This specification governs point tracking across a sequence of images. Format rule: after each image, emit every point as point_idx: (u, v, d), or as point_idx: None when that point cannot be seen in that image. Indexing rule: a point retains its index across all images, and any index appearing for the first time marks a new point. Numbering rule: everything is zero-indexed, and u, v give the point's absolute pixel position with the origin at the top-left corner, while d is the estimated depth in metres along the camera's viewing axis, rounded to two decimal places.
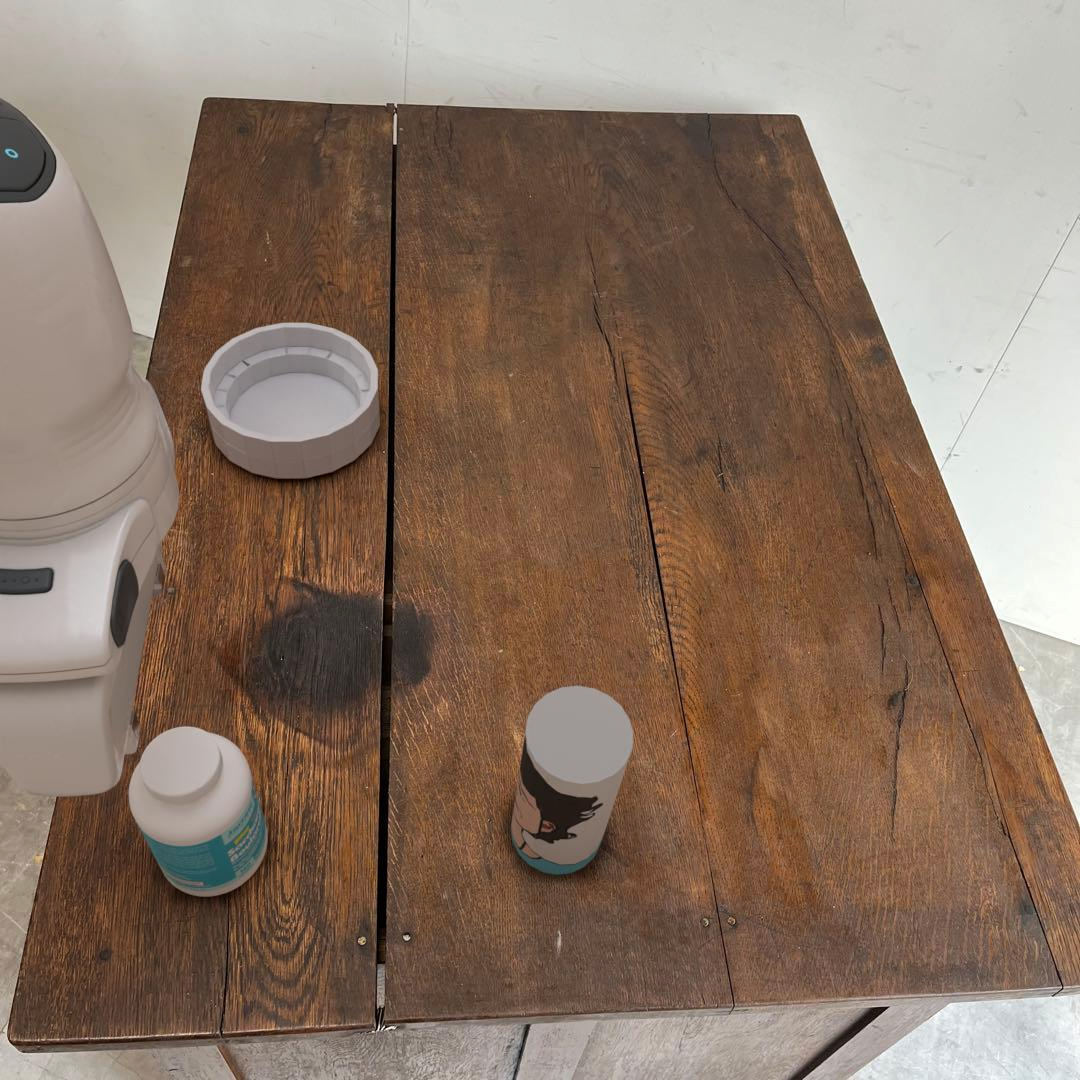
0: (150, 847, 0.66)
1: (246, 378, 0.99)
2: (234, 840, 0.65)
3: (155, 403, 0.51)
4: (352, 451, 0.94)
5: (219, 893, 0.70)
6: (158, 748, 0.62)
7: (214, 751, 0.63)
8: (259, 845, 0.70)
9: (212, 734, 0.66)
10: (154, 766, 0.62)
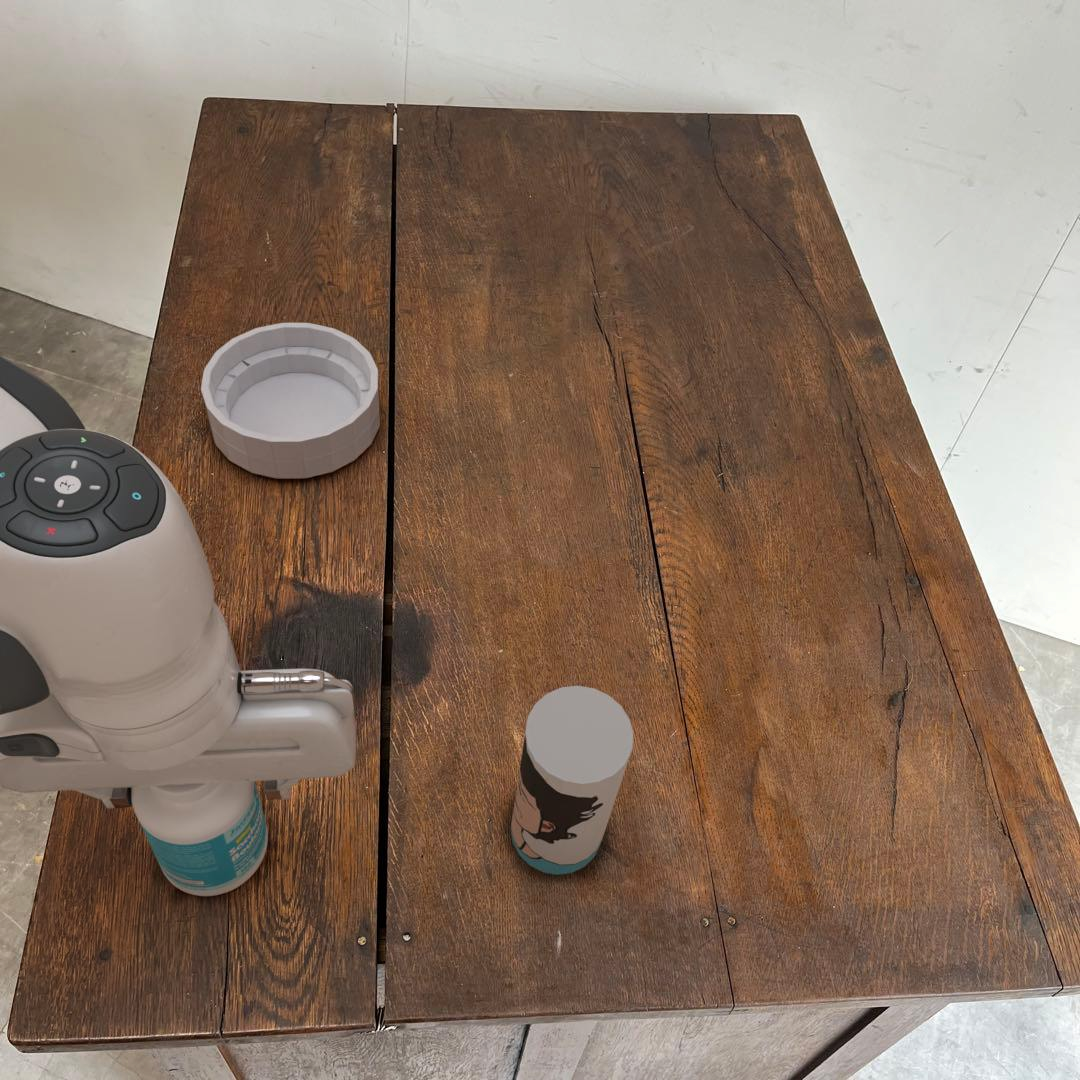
0: (151, 846, 0.66)
1: (246, 378, 0.99)
2: (236, 839, 0.65)
3: (321, 738, 0.57)
4: (352, 451, 0.94)
5: (219, 893, 0.70)
6: None
7: None
8: (260, 845, 0.70)
9: None
10: None
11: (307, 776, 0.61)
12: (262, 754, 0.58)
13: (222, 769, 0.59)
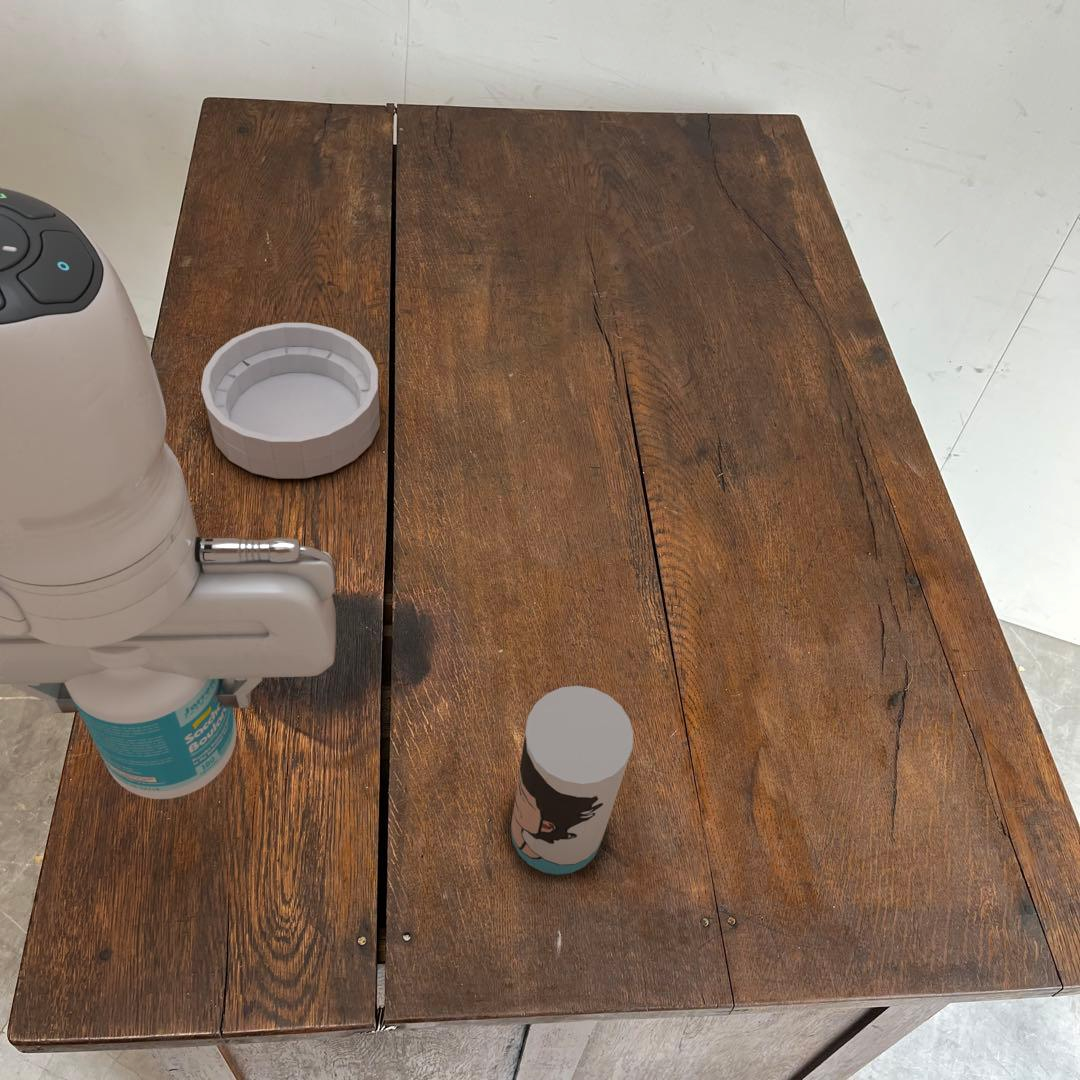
0: (90, 731, 0.54)
1: (246, 378, 0.99)
2: (192, 722, 0.53)
3: (295, 621, 0.48)
4: (352, 451, 0.94)
5: (176, 795, 0.58)
6: None
7: None
8: (225, 737, 0.58)
9: None
10: None
11: (278, 673, 0.52)
12: (224, 642, 0.49)
13: (176, 661, 0.50)
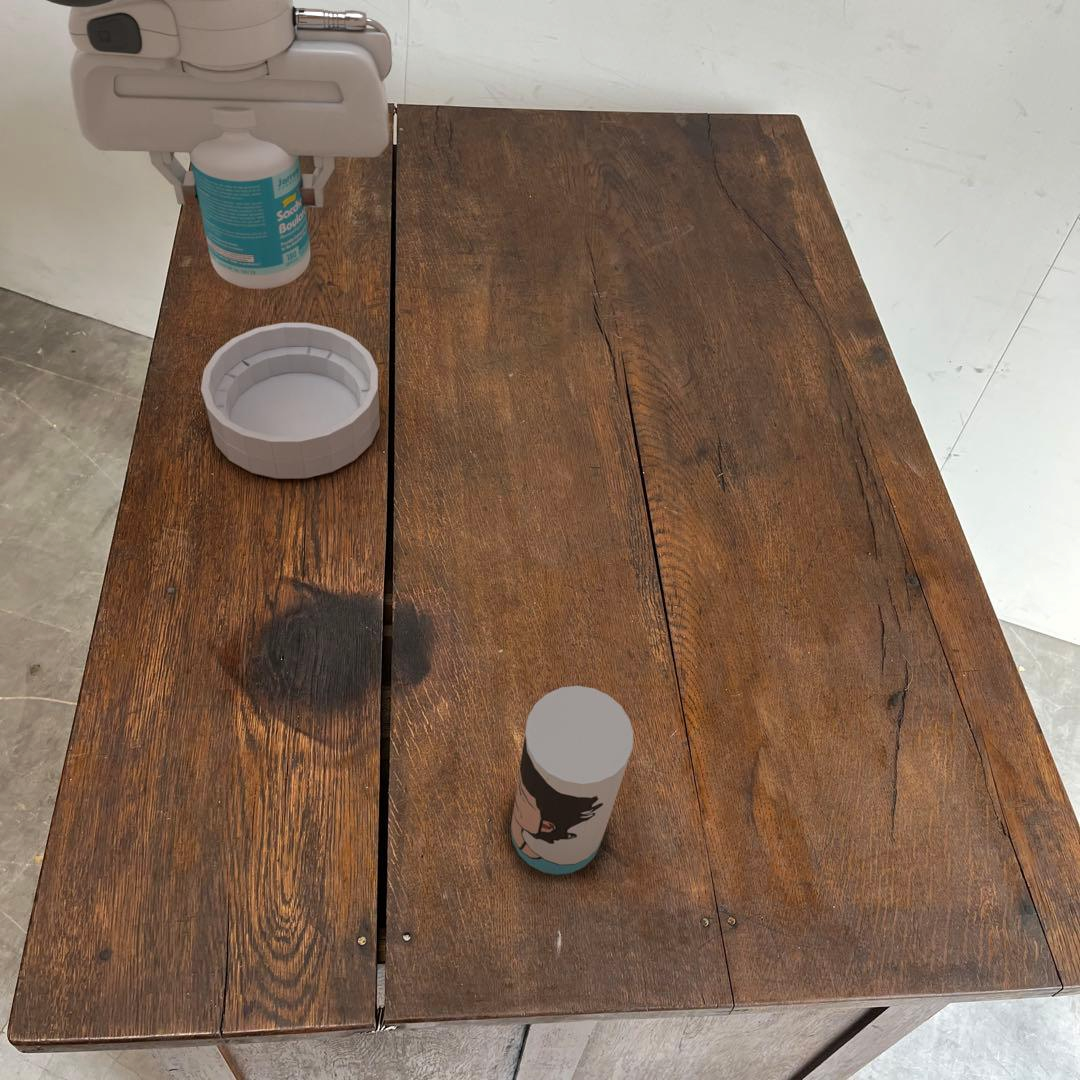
0: (206, 209, 0.72)
1: (246, 378, 0.99)
2: (283, 199, 0.72)
3: (362, 84, 0.66)
4: (352, 451, 0.94)
5: (267, 283, 0.76)
6: None
7: None
8: (304, 240, 0.76)
9: None
10: None
11: (347, 150, 0.70)
12: (310, 107, 0.67)
13: (274, 128, 0.68)
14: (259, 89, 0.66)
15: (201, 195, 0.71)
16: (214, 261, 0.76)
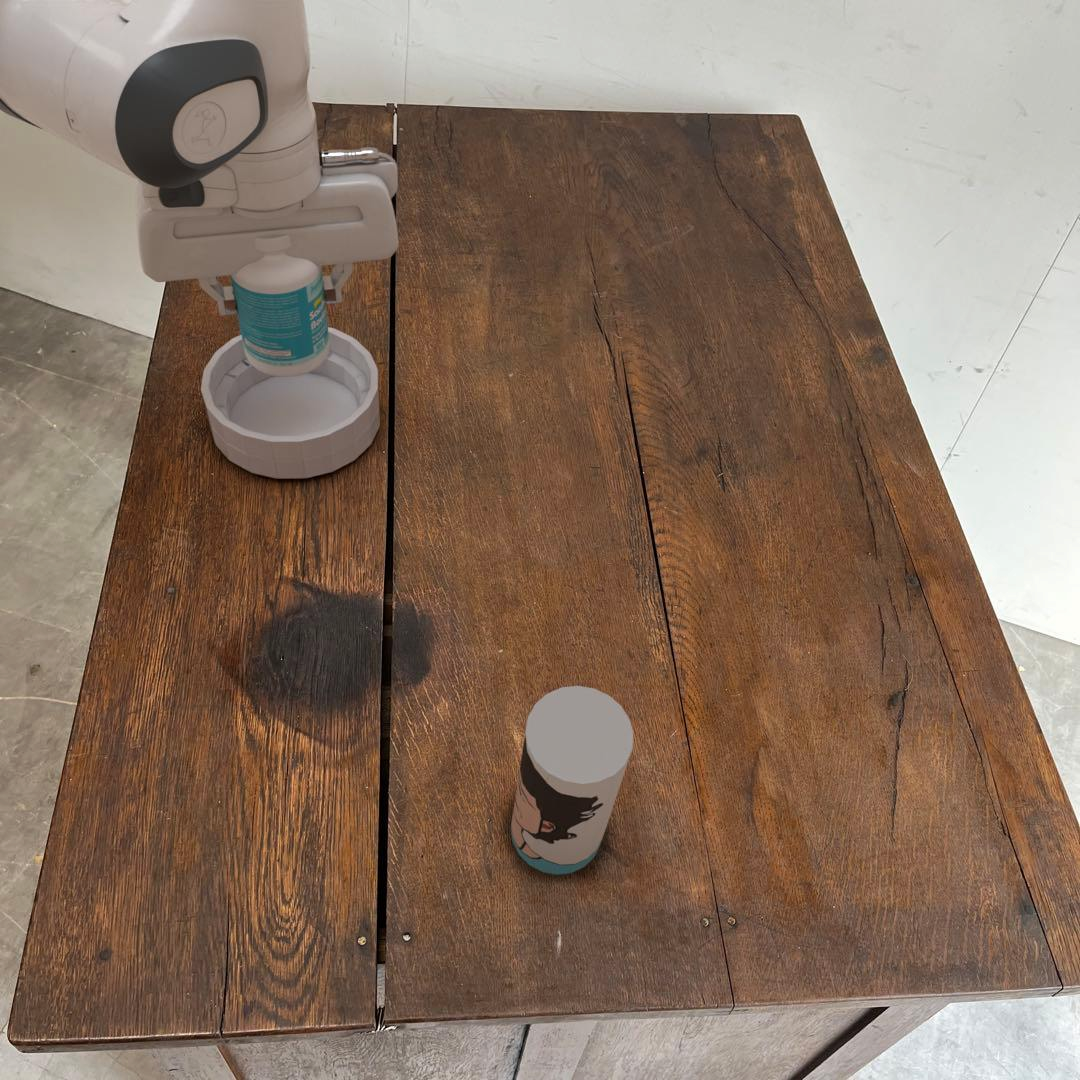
0: (248, 318, 0.85)
1: (246, 378, 0.99)
2: (314, 301, 0.85)
3: (379, 204, 0.81)
4: (352, 451, 0.94)
5: (301, 371, 0.89)
6: None
7: None
8: (326, 331, 0.90)
9: None
10: None
11: (365, 256, 0.84)
12: (336, 227, 0.81)
13: (306, 247, 0.82)
14: (294, 218, 0.80)
15: (243, 307, 0.84)
16: (252, 358, 0.89)
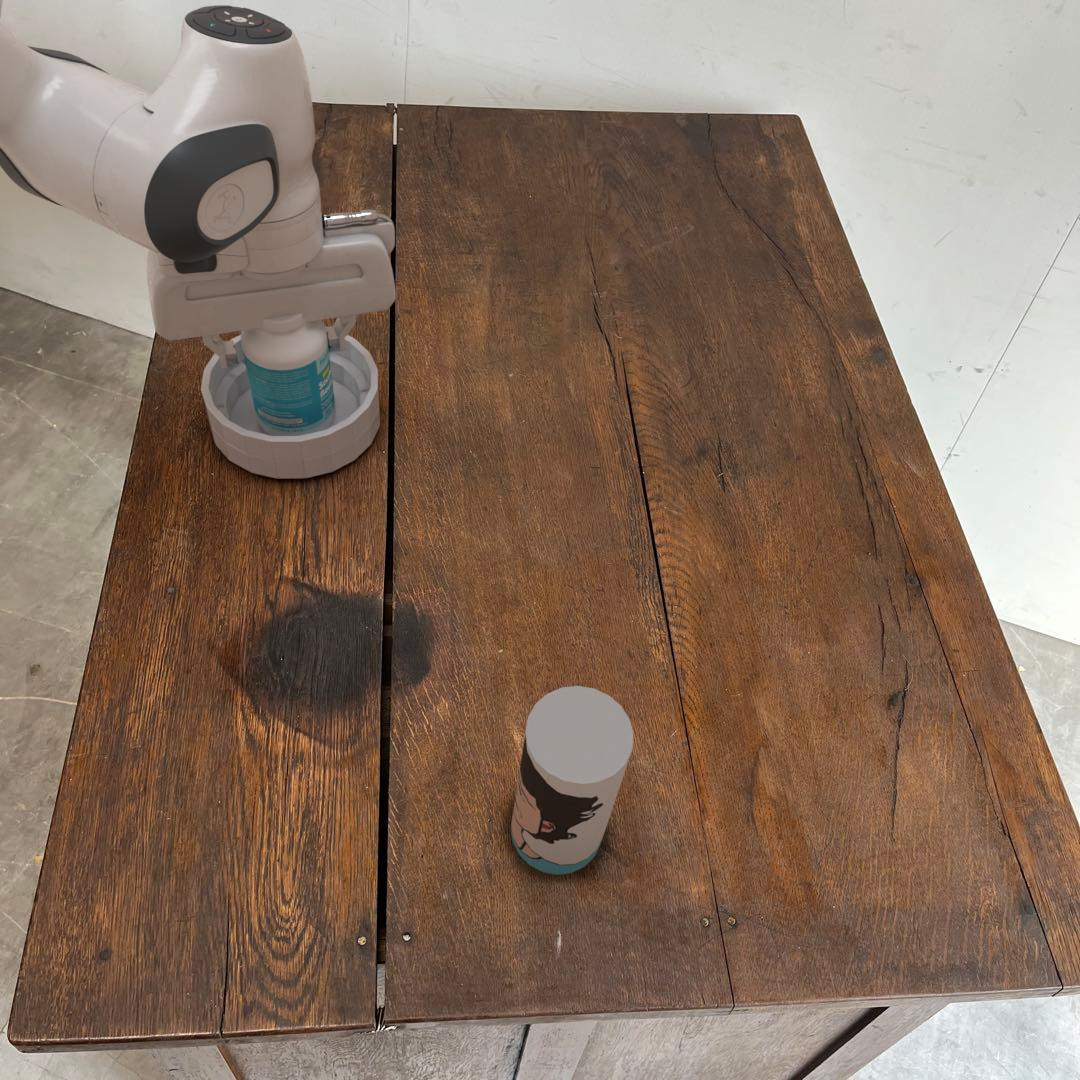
0: (262, 391, 0.91)
1: (246, 378, 0.99)
2: (322, 372, 0.92)
3: (378, 262, 0.86)
4: (352, 451, 0.94)
5: None
6: None
7: None
8: (333, 396, 0.96)
9: None
10: None
11: (365, 309, 0.89)
12: (337, 284, 0.86)
13: (310, 303, 0.86)
14: (298, 277, 0.85)
15: (257, 382, 0.91)
16: (266, 426, 0.95)
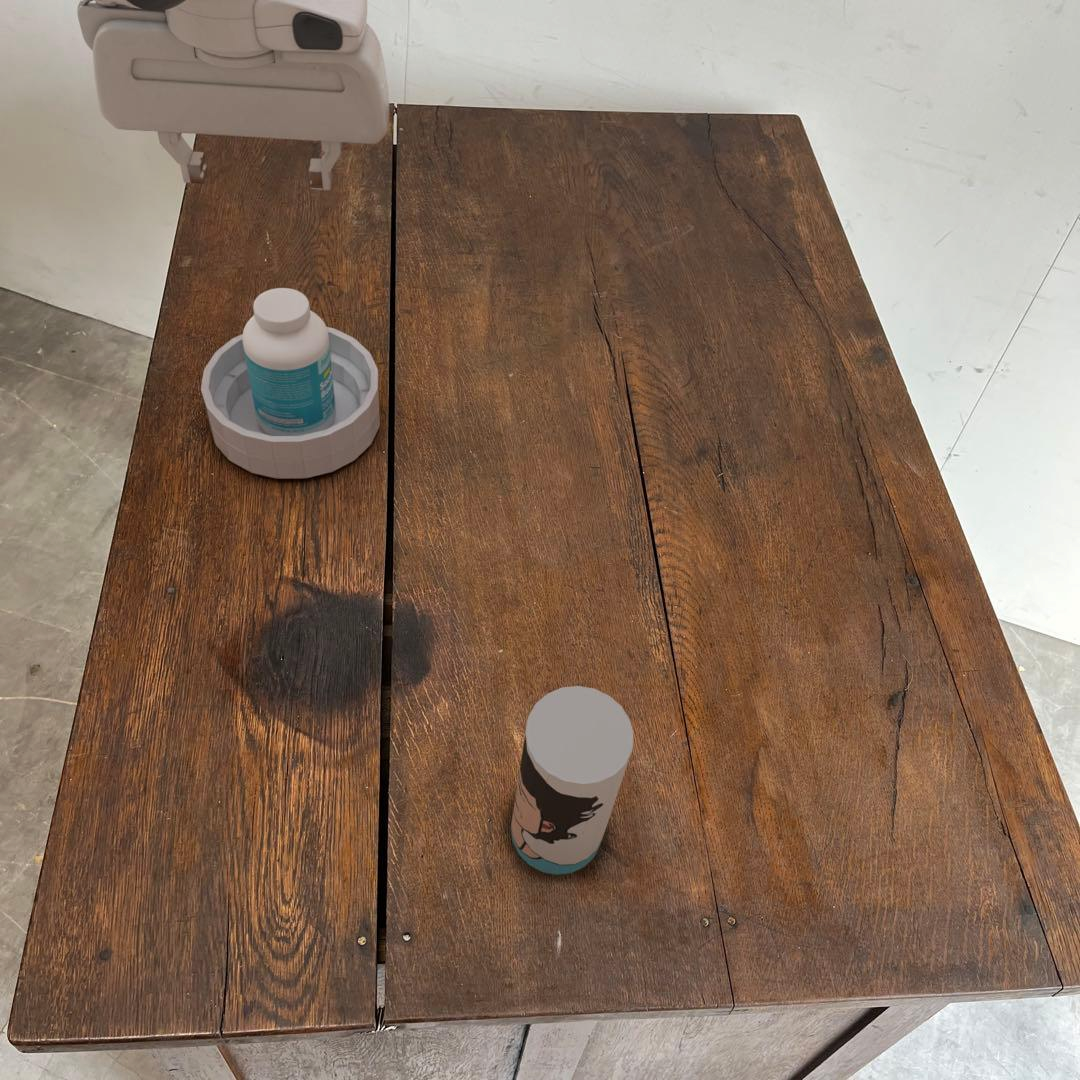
0: (263, 391, 0.91)
1: (246, 378, 0.99)
2: (323, 373, 0.92)
3: None
4: (352, 451, 0.94)
5: None
6: (263, 300, 0.88)
7: (302, 297, 0.88)
8: (333, 397, 0.96)
9: None
10: (265, 309, 0.87)
11: None
12: None
13: None
14: None
15: (259, 382, 0.91)
16: (266, 426, 0.95)
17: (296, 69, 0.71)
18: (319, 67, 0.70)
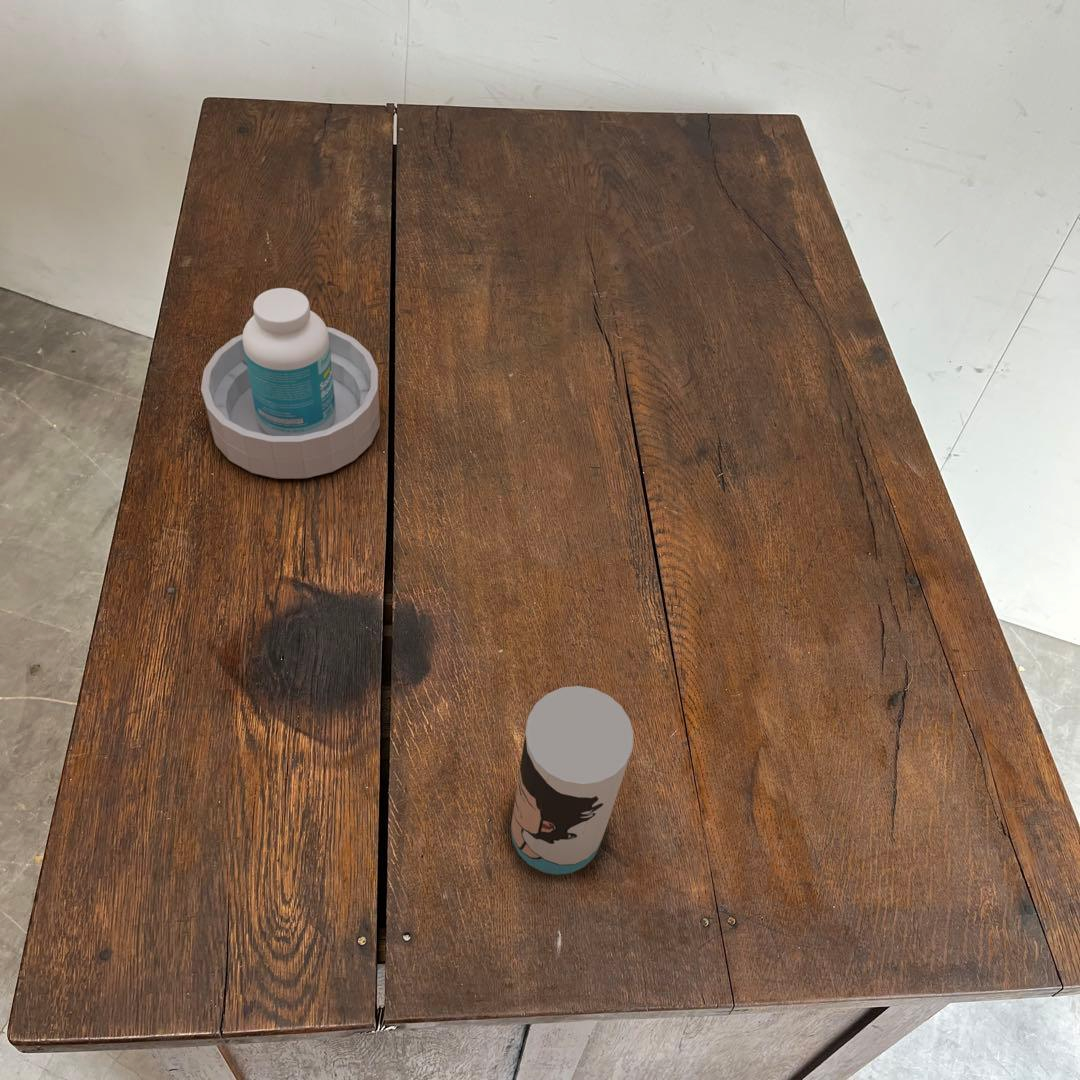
0: (263, 391, 0.91)
1: (246, 378, 0.99)
2: (323, 373, 0.92)
3: None
4: (352, 451, 0.94)
5: None
6: (263, 300, 0.88)
7: (302, 297, 0.88)
8: (333, 397, 0.96)
9: None
10: (265, 309, 0.87)
11: None
12: None
13: None
14: None
15: (259, 382, 0.91)
16: (266, 426, 0.95)
17: None
18: None
